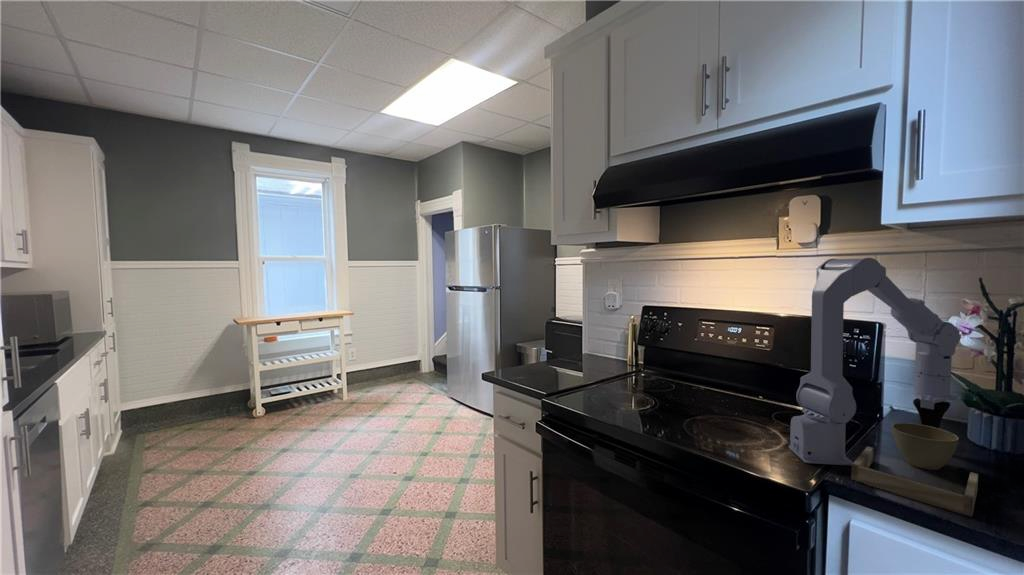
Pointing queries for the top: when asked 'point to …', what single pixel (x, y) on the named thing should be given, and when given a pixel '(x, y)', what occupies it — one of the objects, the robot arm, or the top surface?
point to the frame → (915, 486)
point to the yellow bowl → (924, 445)
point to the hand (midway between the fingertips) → (930, 432)
